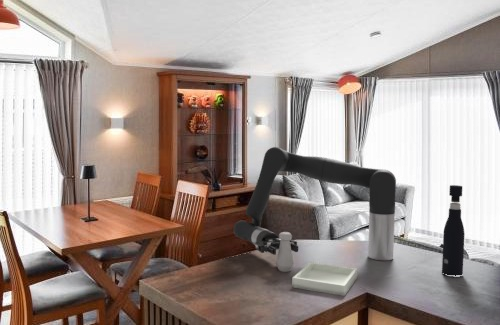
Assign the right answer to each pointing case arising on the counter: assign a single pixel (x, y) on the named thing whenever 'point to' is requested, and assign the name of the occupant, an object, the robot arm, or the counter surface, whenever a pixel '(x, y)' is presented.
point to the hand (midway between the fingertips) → (286, 250)
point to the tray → (325, 278)
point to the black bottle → (453, 236)
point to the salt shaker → (285, 253)
